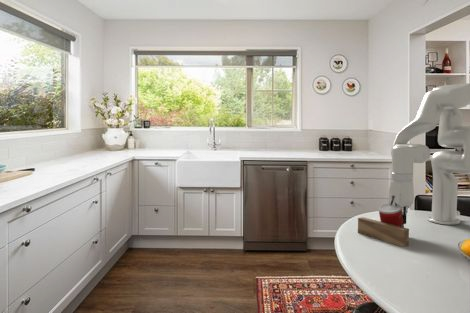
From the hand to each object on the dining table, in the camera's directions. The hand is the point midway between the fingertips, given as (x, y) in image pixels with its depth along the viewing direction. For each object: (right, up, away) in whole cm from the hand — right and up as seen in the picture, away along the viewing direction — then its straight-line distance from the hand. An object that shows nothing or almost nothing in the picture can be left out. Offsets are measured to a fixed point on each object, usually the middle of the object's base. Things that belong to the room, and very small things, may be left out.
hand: (401, 223), depth 142 cm
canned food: (-4, -4, -2) cm, 6 cm away
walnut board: (-10, -5, -5) cm, 12 cm away
